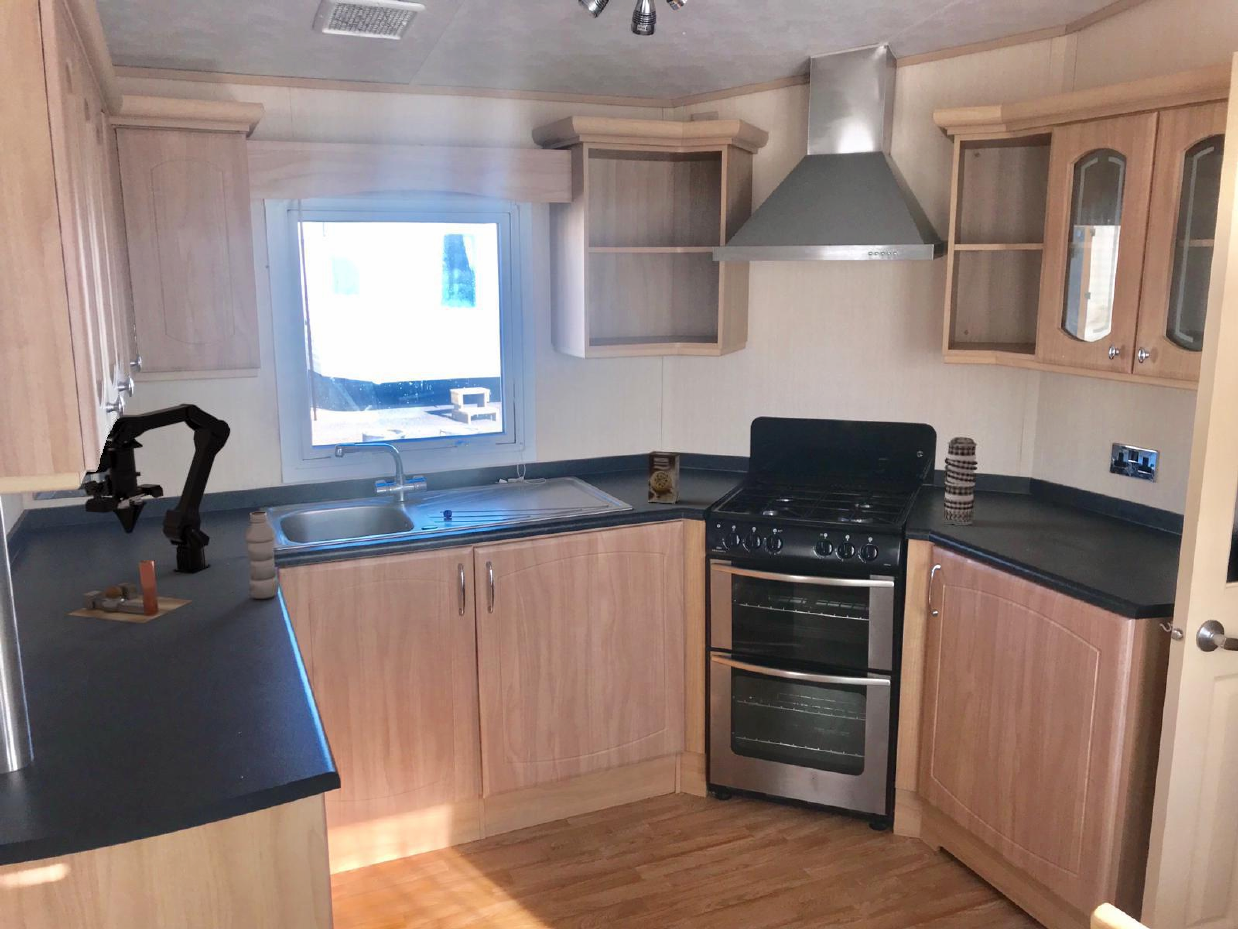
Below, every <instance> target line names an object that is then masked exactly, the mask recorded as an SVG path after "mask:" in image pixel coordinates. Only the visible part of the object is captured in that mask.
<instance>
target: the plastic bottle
mask: <svg viewBox="0 0 1238 929" xmlns="http://www.w3.org/2000/svg"><path fill="white" fill-rule="evenodd" d="M267 521H268V514H267V511H263V510H262V511H261V510H260V511H259V510H258V511H253V512H250V513H249V522H250V523H251V524H250V525H249V527H248V529H247V530H246V533H245V536H244V537H245V543H246V546H247V550H248V556H249V557H248V558H249V564H250V565H249V566H250V569H249V570H250V576H249V586H248V589H249V591H250V592H249V593H250V595H251V596H252V597H253V598H255V599H260V600H262V599H263V600H264V599H270V598H272V597H273V598H274V597H275V596H277V594H278V593H279V588H280V586H279V585H280V583H279V580H278V576H277V571H276V566H275V538H276V537H275V535H276V534H275V531H274V529H273V528H272V527H271V525H270V524H268V522H267Z"/></svg>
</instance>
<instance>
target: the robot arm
mask: <svg viewBox="0 0 1238 929" xmlns="http://www.w3.org/2000/svg"><path fill="white" fill-rule="evenodd" d="M121 415H122V416H121V417H120V418H119V419H117V421H116V422H115V424H114V425H113V428H112V430H111V431H110V434H109V435H108V437H107V440H106V443H105V446H104V449H103V453H102V455H101V458H100V464H99V467H98V470H97V471H96V472H87V473H86V475H85V476H90V475H95V474H102V473H105V475H104V480H103V481H100V482H99V481H97V480H95V479H94V480H90V481H86V482H84V490H85V493H86V496H90V497H91V496H92V498H88V499H87V500H86V501H85V502H84V506H85V512H86V513H87V512H88V513H100V514H102V513H103V514H106V513H110V512H112V513H114V515H116V517H117V519H118V520H119V522H120V524H121V527H122V528H123V531H125V533H126V534H133V532H134V529H135V527H136V524H137V521H138V520H139V518H140V515H141V513H142V511H143V510H144V507H145V506H146V505H147V504H148V502H147V501H143V499H142V498H144V497H147V496H151V497H152V498H154V499H158V498H161V497H164V495H165V494H164V487H162V486H161V484H156V483H155V484H153V483H142V484H140V485H139V484H138V477H141V476H142V475H141V471H137V466H136V457H135V455H136V454H135V449H139V448H140V449H141V448H143V446H144V445H143V443H141V442H139V441H138V440H137V439H136V438H138V437H141V435H143V434H144V433H145V432H149V431H151V430H155V429H159V428H163V427H167V426H170V425H177V424H180V423H185V424H186V426H187V427H188V428H189V429H190V430H192V431H193V438H192V440H193V444H194V448H195V449H194V454H193V457H192V461H191V464H190V467H189V470H188V473H187V476H186V479H185V482H184V486H183V488H182V493H181V494H180V498H179V502H178V504H177V505H176V507H174V509H171V508H170V509H169V508H168V509H167V510H166V511H165V516H164V520H163V521H162V523H161V526H163V527H162V532H163V534H164V536H165V537H166V538H167V539H168V541H169V542H170V545H171V546H176V548H175V549H176V554H175V558H176V567H174V568H173V569H172V571H174V572H182V573H193V574H194V573H197V572H199V571H201V570H202V571H203V570H204V569H206V568H209V567H211V566H212V565H211V563H206V552H205V547H208V546H209V544H210V539H211V538H210V536H208V535H207V533H205V532H203V531H202V530H201V524H202V518H201V514H200V507H201V503H202V501H203V497H204V494H205V491H206V487H207V486H208V485H207V484H208V481H209V477H210V475H211V471H212V469H213V468H212V467H213V465H214V462H215V459H216V456H217V455H218V453H219V452H221V450H222V449H223V448H224V447H225V445H226V444H227V441H228V439H229V437H230V435H231V427H230V426H229V423H228V422H226V420H224V419H218V418H217V417H216V416H214V415H212V414H211V413H208V412H207V411H205V410H203V409H202V408H200V407H199V406H198V405H196V404H194V403H180V404H178V405H175V406H171V407H165V408H162V409H157V410H152V411H148V412H143V413H140V414H139V413H138V414H121ZM107 471H108V473H106V472H107ZM85 476H84V477H85Z"/></svg>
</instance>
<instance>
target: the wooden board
mask: <svg viewBox="0 0 1238 929" xmlns="http://www.w3.org/2000/svg"><path fill="white" fill-rule="evenodd" d="M116 586H117V587H119V588H121V590H122V592H123V595H122V597H124V600H125V601H132V602H141V603H143V596H142V594H138V585H137V584H133V583H129V582H122V583H118V584H117V585H116ZM157 600H158V610H159V612H158V613H156V614H152V615H145V614H140V613H131V612H122V611H114V612H105V611H103V609H97V608H94V609H89V608H84V607H83V608H80V609H78V610H75V611H73V612H70V613H68V614H67V615H68V616H77V617H86V618H96V619H104V620H111V621H121V622H129V623H130V622H131V623H136V624H137V623H138V624H145V623H146V622H149V621H152V620H153V619H156V618H157V617H160V616H162V615H164V614H167V613H169V612H171V611H174V610H175V609H178V608H180V607H182V606H184V605H187V604H189V603H192V602H193V600H190V599H180V598H170V597H162V596H157Z"/></svg>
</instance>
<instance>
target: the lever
mask: <svg viewBox="0 0 1238 929" xmlns="http://www.w3.org/2000/svg"><path fill="white" fill-rule="evenodd" d="M138 564H139V565H138V567H139V575H140V576H139V577H140V584H141V593H142V594H141V595H142V596H143V603H141V602H132V601H125V600H124V597H110V598H104V596H103V591H99V590H92V591H91V590H90V591H88V592H86V593H84V594H82V602H83V608H89V609H94V608H97V609H103V611H105V612H114V611H122V612H131V613H140V614H145V615H152V614H156V613H158V612H159V610H158V600H157V597H158V593H157V591H158V590H157V583H156V582H157V581H156V573H155V564H154V560H153V559H146V560H145V559H144V560H141V561H139V562H138Z"/></svg>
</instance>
